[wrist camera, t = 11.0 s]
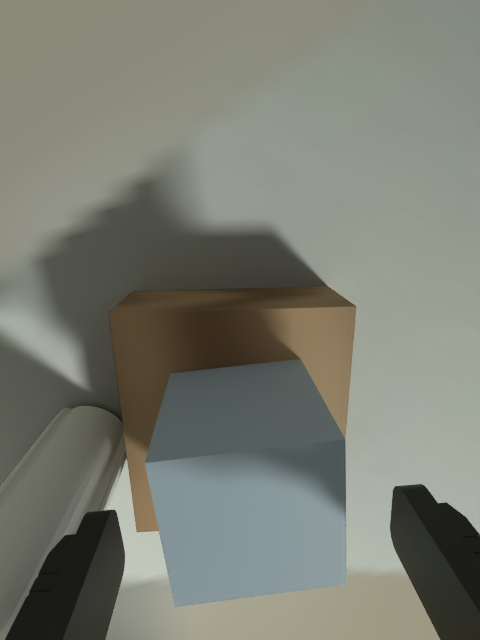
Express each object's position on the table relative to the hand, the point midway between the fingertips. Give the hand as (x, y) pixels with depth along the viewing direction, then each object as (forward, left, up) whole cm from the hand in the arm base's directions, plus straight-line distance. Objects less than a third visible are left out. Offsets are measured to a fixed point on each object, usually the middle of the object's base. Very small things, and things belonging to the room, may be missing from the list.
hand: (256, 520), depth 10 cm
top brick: (0, 0, -4) cm, 4 cm away
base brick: (0, 0, -8) cm, 8 cm away
